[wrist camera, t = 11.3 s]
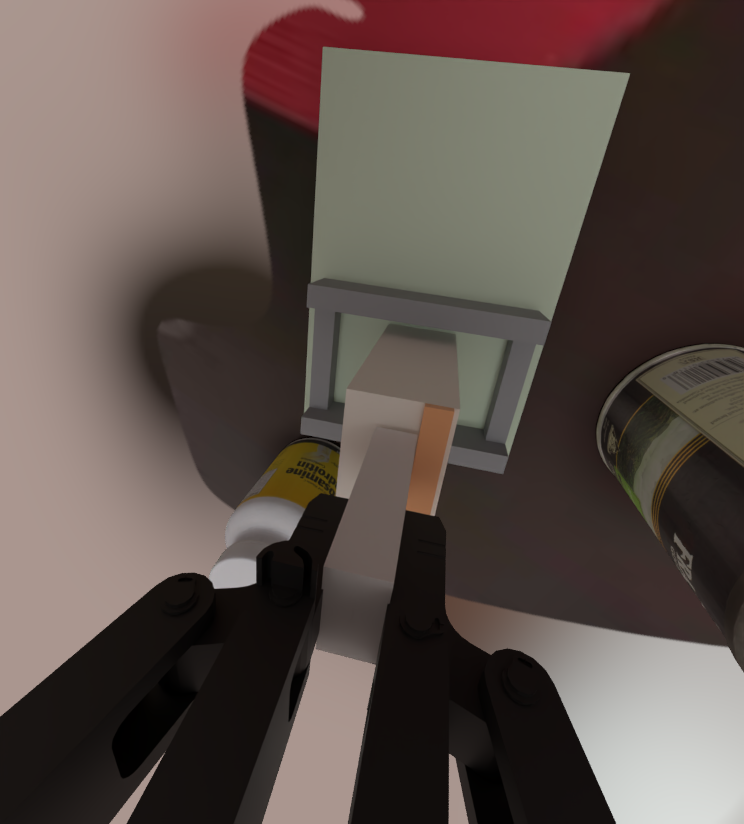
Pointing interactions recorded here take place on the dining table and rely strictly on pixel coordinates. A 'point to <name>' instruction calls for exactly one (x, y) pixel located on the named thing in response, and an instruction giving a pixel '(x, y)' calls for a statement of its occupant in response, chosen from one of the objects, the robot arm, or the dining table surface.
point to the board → (448, 222)
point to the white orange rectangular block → (404, 408)
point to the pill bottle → (275, 507)
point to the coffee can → (687, 468)
